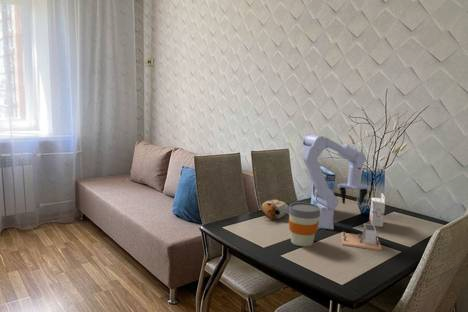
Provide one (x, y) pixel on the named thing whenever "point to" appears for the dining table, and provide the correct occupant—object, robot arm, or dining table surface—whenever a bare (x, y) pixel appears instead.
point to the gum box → (329, 180)
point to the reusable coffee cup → (303, 223)
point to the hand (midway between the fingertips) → (351, 203)
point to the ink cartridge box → (377, 211)
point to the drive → (369, 234)
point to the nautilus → (274, 209)
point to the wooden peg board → (358, 241)
